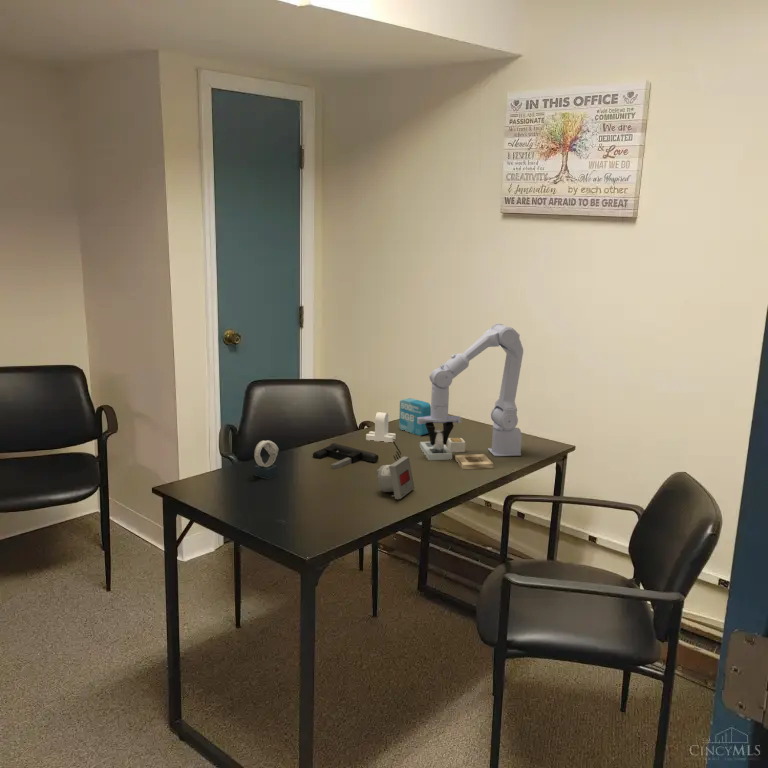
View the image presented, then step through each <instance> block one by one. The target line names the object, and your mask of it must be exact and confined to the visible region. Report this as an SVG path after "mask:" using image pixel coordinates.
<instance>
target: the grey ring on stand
mask: <svg viewBox="0 0 768 768" xmlns="http://www.w3.org/2000/svg"><path fill="white" fill-rule="evenodd" d="M263 448H264V450H265V451H266V452H267V453H268V455H269V457H268V459H267V461H266V462H264V461H263V459H262V456H261V451H262V449H263ZM278 453H279V447H278V445H277V444H276V443H275V442H273V441H272V440H269V439H268V440H260V441H259V442H258V443H257V444H256V446H255V448H254V454H253V455H254V456H253V457H254V459H255V462H256V464H257V465H256V464H255V465H254V466H253V475H254V474H256V475H258V476H261V477H265V478H270V477H273V476H275V475H277V476H278V466H277V465H275V464H274V463H275V461H276V459H277V456H278ZM275 477H276V476H275ZM273 478H274V477H273ZM270 479H271V478H270Z"/></svg>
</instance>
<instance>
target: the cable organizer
mask: <svg viewBox="0 0 768 768" xmlns="http://www.w3.org/2000/svg"><path fill="white" fill-rule="evenodd" d="M396 436H397V435H396V433H394V432H393V433H391V432H389V413H388V412H379V411H376V415H375V418H374V431H372V430H370V431H369V432H368V433H366V434H365V440H366V441H370V440H374V441H373V442H379V441H384V442H383V443H388V442H392V443H393V441H394V440H393V439H395V440H396V439H397V437H396Z"/></svg>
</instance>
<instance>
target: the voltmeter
mask: <svg viewBox="0 0 768 768" xmlns="http://www.w3.org/2000/svg"><path fill="white" fill-rule="evenodd" d="M392 443H393V445H394V446H395V448H396V449H397V450H396V454H395V455H393V459H394V460H395V462H393V463H392V464H383V465H381V466H380V467H379V468H378V469H377V470H375V472H376V473H375V474H376V477H377V484H378V487H379V489H380V490H381V492H382V493H393V494H391V497H394V499H397V500H401V499H402V498H403V497H405V496H406V495H407V494H409V493H410V492H411V491H412V490H414V489H415V483H414V480H413V479H414V478H413V473H412V467H411V462H410V457H409V456H402V457H401V455H402V452H401V451H400V449H399V447H398V445H397V443H396V442H395V440H393V442H392Z"/></svg>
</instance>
